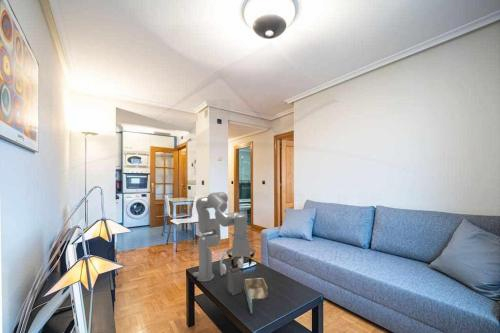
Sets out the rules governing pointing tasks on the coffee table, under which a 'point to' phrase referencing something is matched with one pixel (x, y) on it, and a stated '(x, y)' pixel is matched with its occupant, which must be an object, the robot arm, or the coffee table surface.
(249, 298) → the gate
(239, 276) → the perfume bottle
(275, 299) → the coffee table surface
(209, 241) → the robot arm
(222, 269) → the headset
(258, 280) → the cubby
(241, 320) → the coffee table surface
